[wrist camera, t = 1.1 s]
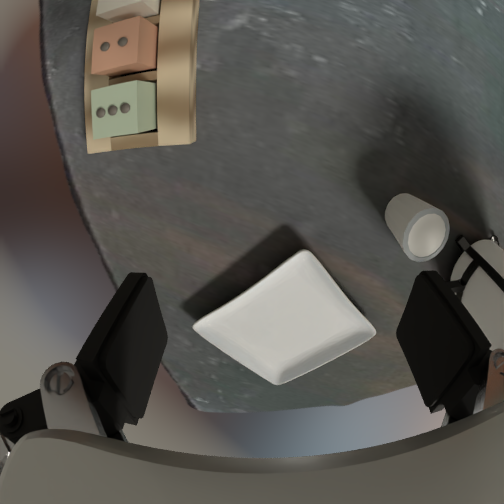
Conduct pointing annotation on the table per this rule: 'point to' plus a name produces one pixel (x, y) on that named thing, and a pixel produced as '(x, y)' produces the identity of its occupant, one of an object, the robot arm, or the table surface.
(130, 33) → the tan dice block
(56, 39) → the table surface
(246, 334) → the salad plate
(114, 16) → the white dice block
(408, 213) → the shot glass
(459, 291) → the coffee press
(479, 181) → the table surface
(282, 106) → the table surface
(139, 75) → the wooden dice block tray
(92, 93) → the green dice block
